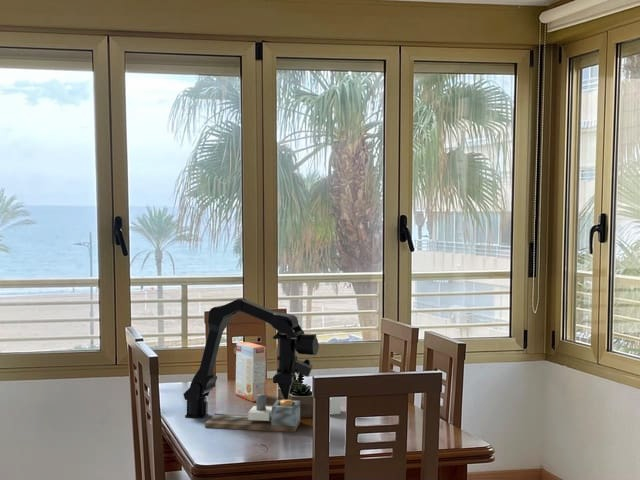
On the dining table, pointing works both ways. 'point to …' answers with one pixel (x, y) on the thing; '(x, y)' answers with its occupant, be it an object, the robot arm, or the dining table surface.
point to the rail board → (280, 420)
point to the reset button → (286, 402)
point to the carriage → (260, 409)
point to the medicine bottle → (335, 406)
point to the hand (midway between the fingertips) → (286, 399)
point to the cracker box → (250, 370)
